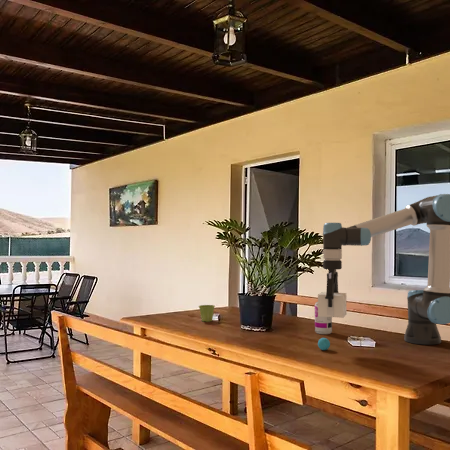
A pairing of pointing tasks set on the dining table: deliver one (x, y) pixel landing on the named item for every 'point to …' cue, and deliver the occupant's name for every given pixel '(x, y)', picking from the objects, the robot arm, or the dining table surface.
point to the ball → (323, 344)
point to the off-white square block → (338, 305)
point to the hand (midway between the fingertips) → (332, 313)
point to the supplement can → (322, 323)
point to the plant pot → (206, 312)
